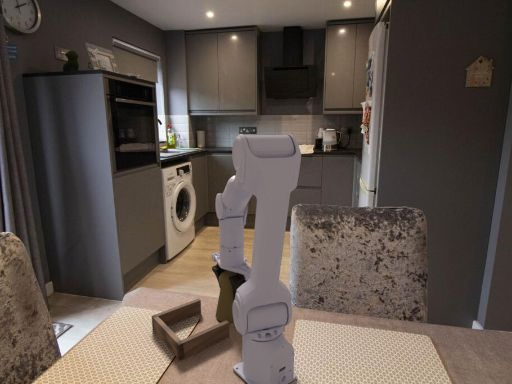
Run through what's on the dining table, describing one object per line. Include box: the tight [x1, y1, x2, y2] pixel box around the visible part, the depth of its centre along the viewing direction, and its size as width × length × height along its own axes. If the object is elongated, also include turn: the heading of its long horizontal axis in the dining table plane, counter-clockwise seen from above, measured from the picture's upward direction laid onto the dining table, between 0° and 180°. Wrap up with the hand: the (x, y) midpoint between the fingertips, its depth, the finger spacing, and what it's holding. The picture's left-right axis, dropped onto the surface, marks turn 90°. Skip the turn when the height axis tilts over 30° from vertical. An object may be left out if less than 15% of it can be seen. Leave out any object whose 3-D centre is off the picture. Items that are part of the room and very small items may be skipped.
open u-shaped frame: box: [151, 298, 230, 361], centre depth 74 cm, size 13×12×4 cm
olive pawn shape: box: [215, 271, 236, 324], centre depth 80 cm, size 6×6×11 cm
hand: (232, 297), depth 81 cm, fingers closed on olive pawn shape, 5 cm apart
